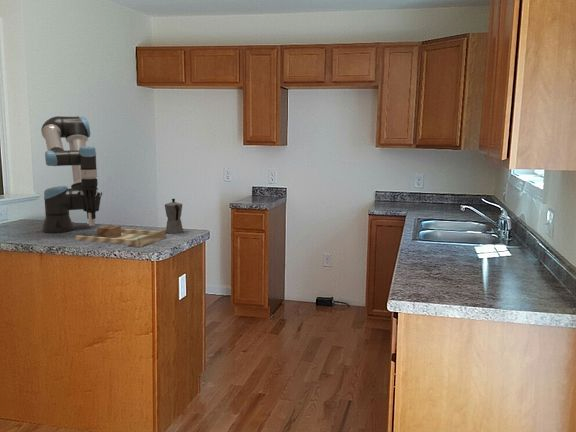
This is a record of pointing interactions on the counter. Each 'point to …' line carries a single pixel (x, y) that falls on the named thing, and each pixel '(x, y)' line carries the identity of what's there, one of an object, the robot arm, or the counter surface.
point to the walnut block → (109, 231)
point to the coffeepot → (173, 217)
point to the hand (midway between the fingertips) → (91, 225)
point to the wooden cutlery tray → (129, 237)
